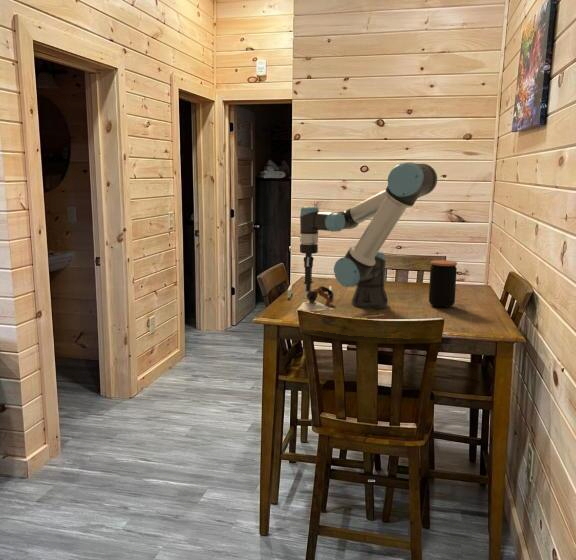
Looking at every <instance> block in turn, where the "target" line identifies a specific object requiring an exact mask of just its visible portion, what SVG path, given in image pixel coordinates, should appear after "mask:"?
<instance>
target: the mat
mask: <svg viewBox="0 0 576 560" xmlns="http://www.w3.org/2000/svg"><path fill="white" fill-rule="evenodd" d="M298 309H303V310H308V311H311V312H317V311H327V310H328V311H329V310H334V308H333V307H331V306H329V305H326V304H325V303H324V304H323V303H321V302H318V301H317V300H316V301H315V302H314V303H311V304H310V303H309V301H303V302H302V304H300V305H299V307H298ZM298 309H297V310H298ZM297 310H296V312H297ZM297 313H298V312H297Z"/></svg>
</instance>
